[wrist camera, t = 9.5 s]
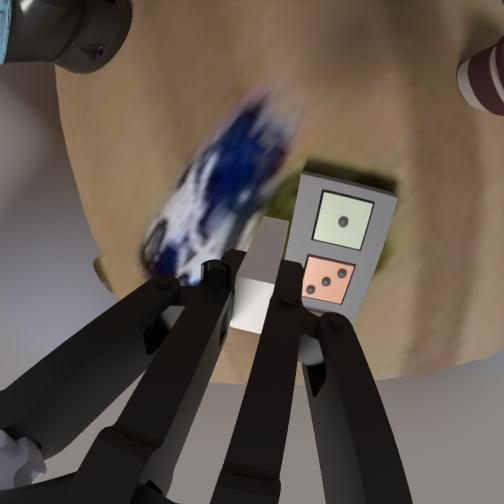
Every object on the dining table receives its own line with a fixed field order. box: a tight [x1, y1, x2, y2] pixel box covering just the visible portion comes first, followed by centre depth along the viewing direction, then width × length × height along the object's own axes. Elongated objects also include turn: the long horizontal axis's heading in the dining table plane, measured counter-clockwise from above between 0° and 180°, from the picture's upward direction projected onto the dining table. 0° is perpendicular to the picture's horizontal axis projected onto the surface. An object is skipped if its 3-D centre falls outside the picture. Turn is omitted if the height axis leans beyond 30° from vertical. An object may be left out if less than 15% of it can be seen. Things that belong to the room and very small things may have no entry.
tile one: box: [314, 189, 373, 249], centre depth 33 cm, size 6×6×3 cm
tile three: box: [302, 254, 354, 304], centre depth 37 cm, size 6×6×3 cm
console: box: [285, 170, 398, 325], centre depth 37 cm, size 12×26×3 cm, turn 172°
